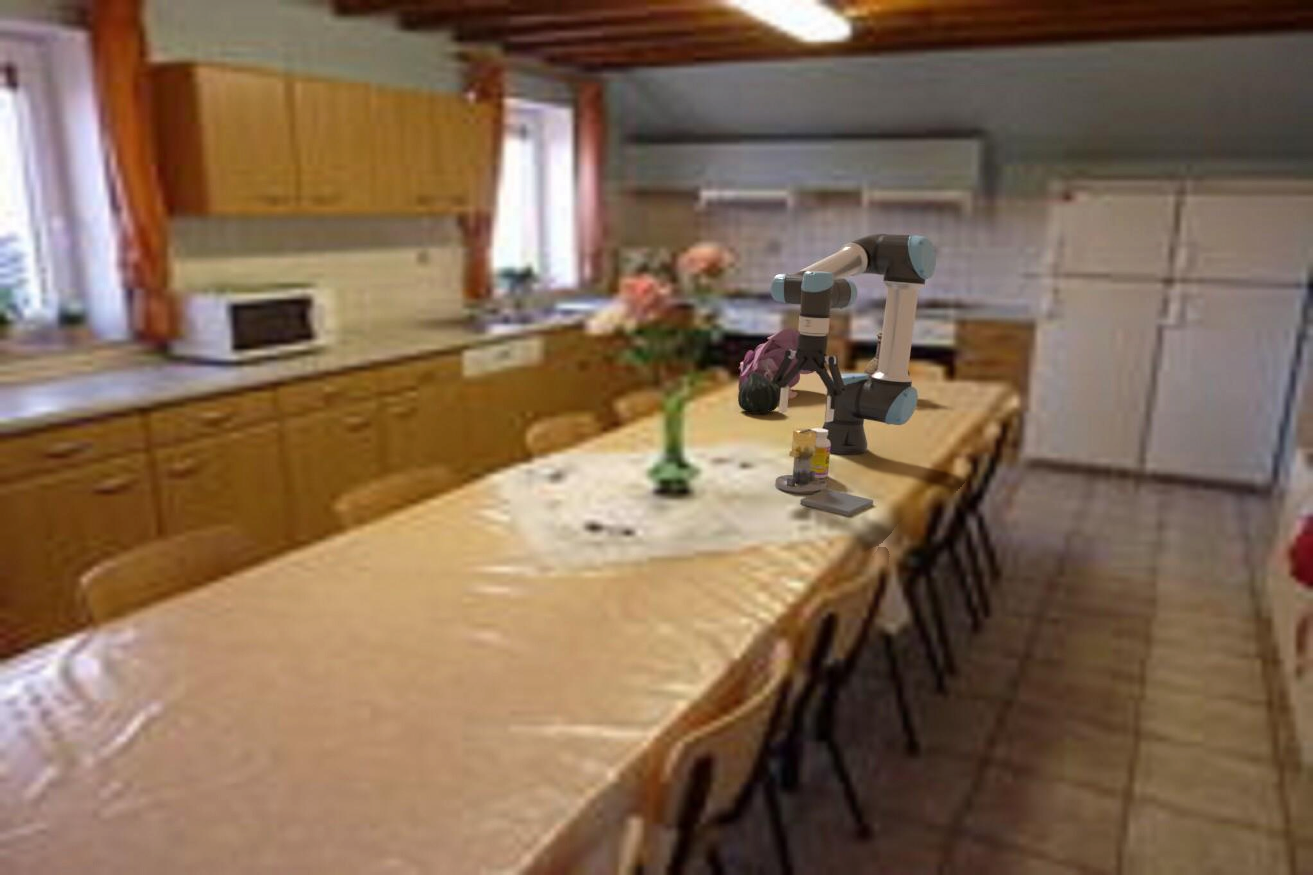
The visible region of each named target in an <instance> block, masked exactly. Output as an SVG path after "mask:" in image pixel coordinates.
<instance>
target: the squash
mask: <svg viewBox="0 0 1313 875" xmlns="http://www.w3.org/2000/svg"><path fill="white" fill-rule="evenodd" d="M737 399H738V400H737V401H738V402H737V403H738V405H739V407H740V408H741V409H742V410H744V412H746V413H750V414H752V413H753V414H755V415H758V414H762V415H767V414H768V413H769V412H772V411H773V412H774V411H775V410H776V408H777V406H778V405H779V404H780V399H778V387H777V385H776V384H773V383H772V381H771V380H769V379H768V378H766V377H764V376H763V375H761V374H758V373H754V372H753V373H752V374H751V375H750V376H749V377H748V379H747V380H746V381H745V382H744V383H743V384H742V386H741V388H740V390H739V389H738V395H737Z"/></svg>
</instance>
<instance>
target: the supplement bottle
mask: <svg viewBox="0 0 1313 875" xmlns="http://www.w3.org/2000/svg"><path fill="white" fill-rule="evenodd" d="M810 429H811V430H814V431H816V432H817V436H816V446H817V451H815V456H812V457H811V469H810V470H813V471H815V478H818V479H825V478H827V477H828V476H829V466H830V457H831V456H830V455H831V453H830V446H831V443H830V441H829V440H828V439H827V435H828V430H826V429H822V427H819V428H818V427H814V428H810Z"/></svg>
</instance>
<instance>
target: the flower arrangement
mask: <svg viewBox="0 0 1313 875" xmlns="http://www.w3.org/2000/svg"><path fill="white" fill-rule="evenodd" d="M799 334H800V332H799V331H795V330H793V329H792V328H785V329H782V330H781V331H778V332H776V333H774V334H772V335H770V336H769V337H767V340H768V341H766V342H765V343H761V344H759V345H757V346H756V348H755V349H754V350H751V349H750V350H748V351H747V352H746V354H745V355H744V358H743V359H744V360H743V361H741V362H740V363H739V364H740V366H739V367H738V369H739V370H740V372H739V373H740V374H739V377H738V378H739V379H738V391H739V390H740V388H741V386H742V384H743V383H744V382H745V381H746V380H747V379H748V377H749V376H750V375H751V374H752V373H753V372H754V373H758V374H761V375H763V376H764V377H766V378H768V379H769V380H771V381H772V380H773V378H774V376H775V374H776V372H777V371H778V369H779V367H780V365H781V363H782V361H783V360H784V357H785V352H786V350H791V349H793V350H794V351H796V352H797V338H798V335H799ZM797 362H798V361H797V359H796V357H795V358H794V359H793V360H792V362H791V364H790V366H789V368H788V369H787V371H786V373H785V375H786V374H787V373H788V372H789V371H790V370H791V369H792V368H793V366H794V365H795V364H796V363H797ZM813 373H814V372H812V371H809V370H800V371H799V372H798V373H797V375H796V376H795V377H794V378H793V379H792V380H791V381H790V382H789V383H788V384H787V386H785V387H789V393H788V399H793V398H795V397H797V395H798V393H797V391H793V390H792V388H794V387H795V386H796V385H797V384H799V382H800V379H801V375H810V374H813ZM785 375H784V376H785ZM783 378H784V377H783ZM783 378H782V379H783ZM777 387H778V386H777Z"/></svg>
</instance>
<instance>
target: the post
mask: <svg viewBox="0 0 1313 875" xmlns="http://www.w3.org/2000/svg"><path fill="white" fill-rule="evenodd" d="M810 469H811V457H800V456H798V457H793V468H792V474H786V475H780V476H778V477H776V478H775V484H774V486H775V489H778V490H780V491H782V492H784V493H789V494H794V495H799V496H800V495H801V496H810V495H813V494H815V493H818V492H820V491H823V490H825V489H827V483H826V482H825V480H822V478H815V471H813V470H810Z"/></svg>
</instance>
